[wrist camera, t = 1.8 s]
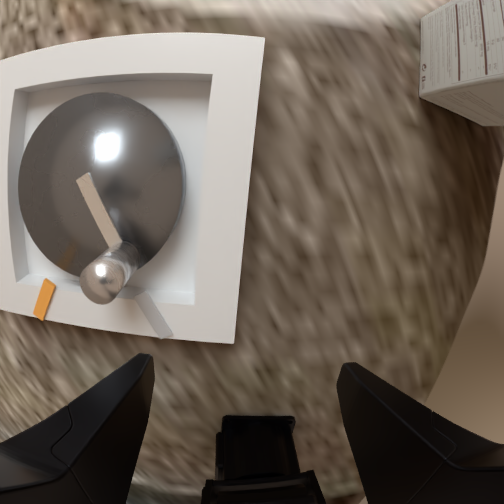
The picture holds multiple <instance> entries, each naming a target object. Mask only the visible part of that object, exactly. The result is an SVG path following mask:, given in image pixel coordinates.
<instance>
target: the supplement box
mask: <svg viewBox="0 0 504 504" xmlns="http://www.w3.org/2000/svg"><path fill="white" fill-rule="evenodd" d="M419 97H420V98H422V99H425V100H427V101H429V102H432V103H434V104H436V105H439V106H441V107H443V108H446V109H448V110H450V111H452V112H455V113H457V114H459V115H461V116H463V117H465V118H467V119H469V120H472V121H474V122H476V123H478V124H480V125H481V126H504V0H451V1H449V2H448V3H446V4H444V5H442V6H441V7H439V8H437V9H435V10H434V11H432V12H430V13H429V14H427V15H425V16H424V17H422V18H421V51H420V84H419Z"/></svg>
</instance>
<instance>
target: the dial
mask: <svg viewBox="0 0 504 504" xmlns="http://www.w3.org/2000/svg"><path fill="white" fill-rule="evenodd" d="M185 195H186V170H185V163H184V159H183V155H182V152H181V149H180V147H179V144H178V141H177V140H176V138H175V136H174V134H173V133H172V131H171V130H170V128H169V127H168V126H167V124H166V123H165V122H164V121H163V120H162V119H161V118H160V117H159V116H158V115H157V114H156V113H155V112H153V111H152V110H150V109H149V108H148V107H146V106H144V105H142V104H141V103H139V102H137V101H135V100H133V99H131V98H129V97H125V96H122V95H119V94H114V93H107V92H97V93H90V94H84V95H81V96H78V97H75V98H73V99H70V100H68V101H66V102H64V103H63V104H61V105H60V106H58V107H57V108H55V109H54V110H53V111H52V112H51V113H49V114H48V115H47V116H46V117H45V118H44V120H43V121H42V122H41V123H40V124H39V125H38V127H37V128H36V130H35V131H34V133H33V134H32V136H31V138H30V140H29V142H28V144H27V146H26V148H25V151H24V154H23V157H22V161H21V164H20V170H19V176H18V198H19V205H20V210H21V214H22V217H23V221H24V223H25V226H26V228H27V231H28V233H29V234H30V236H31V238H32V240H33V242H34V243H35V244H36V246H37V247H38V249H39V250H40V251H41V252H42V253H43V254H44V255H45V257H46V258H48V259H49V260H50V261H51V262H52V263H53V264H55V265H56V266H57V267H59V268H60V269H62V270H64V271H66V272H68V273H70V274H72V275H75V276H78V277H80V286H81V289H82V291H83V293H84V295H85V296H86V297H87V298H88V299H89V300H90V301H92V302H94V303H96V304H101V305H104V304H108V303H110V302H112V301H113V300H114V299H115V298H116V296H117V295H118V293H119V292H120V291H121V289H122V288H123V287H124V285H125V284H126V283H127V281H128V280H129V279H130V277H131V276H132V275H133V273H134V272H135V271H136V270H138V269H139V268H141V267H143V266H144V265H145V264H146V263H148V262H149V261H150V260H151V259H152V258H153V257H154V256H155V255H156V254H157V253H158V252H159V251H160V249H161V248H162V247H163V245H164V244H165V242H166V241H167V240H168V238H169V237H170V236H171V234H172V232H173V231H174V229H175V227H176V225H177V223H178V221H179V218H180V216H181V213H182V210H183V206H184V202H185Z"/></svg>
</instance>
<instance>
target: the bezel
mask: <svg viewBox="0 0 504 504" xmlns="http://www.w3.org/2000/svg"><path fill="white" fill-rule="evenodd" d="M264 43H265V38H262V37H253V36H243V35H231V34H215V33H150V34H134V35H122V36H113V37H104V38H97V39H90V40H83V41H77V42H72V43H66V44H61V45H56V46H52V47H47V48H43V49H39V50H35V51H31V52H27V53H23V54H20V55H16V56H13V57H10V58H6V59H3V60H0V309H1V310H5V311H9V312H13V313H18V314H22V315H26V316H31V317H36V318H39V319H40V320H42V321H43V320H44V319H45V320H50V321H55V322H60V323H66V324H71V325H77V326H82V327H88V328H94V329H101V330H107V331H114V332H121V333H128V334H136V335H143V336H152V337H159V338H160V339H163V338H170V339H180V340H190V341H202V342H215V343H230V344H234V337H235V326H236V315H237V305H238V294H239V283H240V273H241V262H242V252H243V242H244V232H245V222H246V212H247V202H248V192H249V182H250V172H251V163H252V153H253V143H254V134H255V125H256V115H257V106H258V97H259V88H260V79H261V70H262V61H263V52H264ZM97 92H107V93H114V94H119V95H122V96H125V97H129V98H131V99H133V100H135V101H137V102H139V103H141V104H142V105H144V106H146V107H148V108H149V109H150V110H152V111H153V112H155V113H156V114H157V115H158V116H159V117H160V118H161V119H162V120H163V121H164V122H165V123H166V124H167V126H168V127H169V128H170V130H171V131H172V133H173V134H174V136H175V138H176V140H177V141H178V144H179V147H180V149H181V152H182V155H183V159H184V163H185V170H186V195H185V202H184V206H183V210H182V213H181V216H180V218H179V221H178V223H177V225H176V227H175V229H174V231H173V232H172V234H171V236H170V237H169V238H168V240H167V241H166V242H165V244H164V245H163V247H162V248H161V249H160V251H159V252H158V253H157V254H156V255H155V256H154V257H153V258H152V259H151V260H150V261H149V262H148V263H146V264H145V265H144V266H143V267H141V268H139V269H138V270H136V271H135V272H134V273H133V275H132V276H131V277H130V279H129V280H128V281H127V283H126V284H125V285H124V287H123V288H122V289H121V291H120V292H119V293H118V295H117V296H116V298H115V299H114V300H113V301H112V302H110V303H108V304H104V305H101V304H96V303H94V302H92V301H90V300H89V299H88V298H87V297H86V296H85V295H84V293H83V291H82V289H81V286H80V277H78V276H75V275H72V274H70V273H68V272H66V271H64V270H62V269H60V268H59V267H57V266H56V265H55V264H53V263H52V262H51V261H50V260H49V259H48V258H46V257H45V255H44V254H43V253H42V252H41V251H40V250H39V249H38V247H37V246H36V244H35V243H34V242H33V240H32V238H31V236H30V234H29V233H28V231H27V228H26V226H25V223H24V221H23V217H22V214H21V210H20V205H19V198H18V176H19V170H20V164H21V161H22V157H23V154H24V151H25V148H26V146H27V144H28V142H29V140H30V138H31V136H32V134H33V133H34V131H35V130H36V128H37V127H38V125H39V124H40V123H41V122H42V121H43V120H44V118H45V117H46V116H47V115H48V114H49V113H51V112H52V111H53V110H54V109H55V108H57V107H58V106H60V105H61V104H63V103H64V102H66V101H68V100H70V99H73V98H75V97H78V96H81V95H84V94H90V93H97Z"/></svg>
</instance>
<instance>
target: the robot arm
mask: <svg viewBox="0 0 504 504" xmlns="http://www.w3.org/2000/svg"><path fill="white" fill-rule="evenodd" d="M154 381H155V373H154V362H153V356H152V355H151V354H143V353H139V354H137V355H136V356H135V357H133V358H132V359H130V360H129V361H128V362H126V363H125V364H123V365H122V366H121V367H119V368H118V369H116V370H115V371H114V372H112V373H111V374H110V375H108V376H107V377H105V378H104V379H103V380H101V381H100V382H98V383H97V384H95V385H94V386H93V387H91V388H90V389H88V390H87V391H86V392H84V393H83V394H81V395H80V396H79V397H77V398H76V399H74V400H73V401H71V402H70V403H69V404H68V406H67V405H66V406H64V407H63V408H61V409H60V410H59V411H57V412H56V413H54V414H52V415H51V416H49V417H48V418H46V419H45V420H43V421H41V422H39V423H38V424H36V425H34V426H32V427H31V428H29V429H27V430H25V431H23V432H21V433H19V434H17V435H15V436H13V437H11V438H9V439H7V440H5V441H4V442H1V443H0V504H126V500H127V496H128V492H129V489H130V485H131V481H132V477H133V474H134V470H135V466H136V463H137V459H138V455H139V452H140V448H141V445H142V441H143V438H144V434H145V431H146V427H147V423H148V418H149V412H150V406H151V399H152V393H153V387H154ZM337 393H338V398H339V403H340V408H341V413H342V419H343V423H344V427H345V431H346V434H347V437H348V440H349V443H350V447H351V450H352V453H353V456H354V459H355V462H356V465H357V469H358V472H359V475H360V478H361V482H362V485H363V488H364V491H365V495H366V498H367V501H368V504H504V444H498V443H495V442H492V441H490V440H487V439H485V438H483V437H481V436H479V435H477V434H475V433H473V432H470V431H468V430H466V429H464V428H462V427H460V426H458V425H456V424H454V423H452V422H451V421H449V420H447V419H445V418H444V417H442V416H440V415H439V414H437V413H435V412H434V411H433V412H432V410H430V409H429V408H427V407H426V406H424V405H422V404H421V403H419V402H417V401H416V400H414V399H413V398H411V397H409V396H408V395H406V394H405V393H403V392H401V391H400V390H398V389H397V388H395V387H394V386H392V385H390V384H389V383H387V382H386V381H384V380H383V379H381V378H379V377H378V376H376V375H375V374H373V373H372V372H370V371H369V370H367V369H365V368H364V367H362V366H361V365H359V364H358V363H356V362H349V363H344V364H343V365H342V368H341V371H340V374H339V377H338V380H337ZM227 420H229V421H227ZM294 426H295V418H294V417H293V416H232V415H226V416H224V417H223V418H222V432H218V433H217V434H216V459H215V479H216V480H213V479H207V480H206V484H205V487H203V489H202V500H201V504H326V502H325V499H324V497H323V494H322V491H321V489H320V486H319V484H318V481H317V478H316V476H315V473H314V471H313V470H309V471H306V472H303V473H300V468H299V464H298V459H297V455H296V450H295V446H294V441H293V436H292V432H293V429H294Z"/></svg>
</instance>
